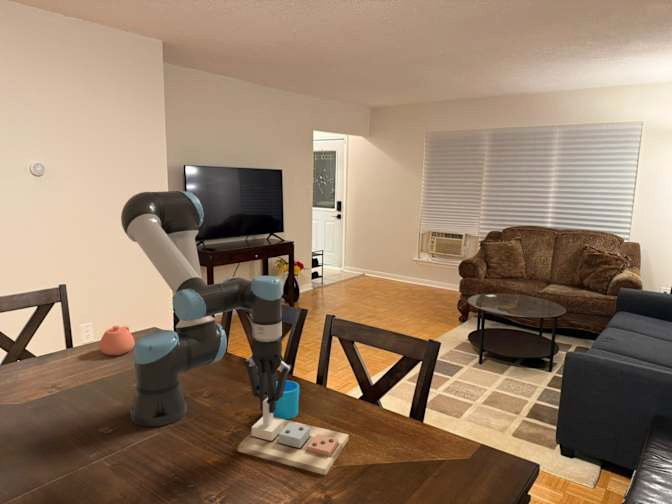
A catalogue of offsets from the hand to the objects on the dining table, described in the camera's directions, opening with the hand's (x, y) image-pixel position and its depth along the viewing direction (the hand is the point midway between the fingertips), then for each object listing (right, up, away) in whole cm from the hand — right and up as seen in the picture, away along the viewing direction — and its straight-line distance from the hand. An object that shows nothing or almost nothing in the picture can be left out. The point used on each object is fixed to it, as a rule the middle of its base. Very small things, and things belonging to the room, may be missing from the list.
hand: (268, 422), depth 124 cm
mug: (+4, -2, +16) cm, 17 cm away
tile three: (+15, -6, -5) cm, 16 cm away
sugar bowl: (-66, +7, +58) cm, 88 cm away
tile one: (0, -3, +1) cm, 3 cm away
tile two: (+7, -4, -2) cm, 8 cm away
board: (+7, -5, -2) cm, 9 cm away
